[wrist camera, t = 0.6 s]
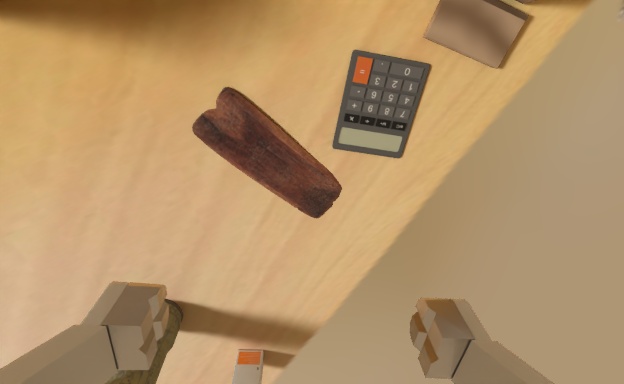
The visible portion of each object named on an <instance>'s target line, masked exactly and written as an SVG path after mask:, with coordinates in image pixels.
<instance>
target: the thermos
mask: <svg viewBox="0 0 624 384" xmlns="http://www.w3.org/2000/svg"><path fill="white" fill-rule="evenodd" d="M164 301H165V302H166V303H167V304H168V306H169V318H168V323H167V327H166V330H165V332H164V335H163V337H161V338H160V339H159V340H157V341H156V342H157V352H156V354H155V356H154V359H153V361H152V363H151V366H150V368H149V370H117V373H116V374H115V375H114V376H113V377H111V378H110V379H109V380H108V381H107V382H106V383H105V384H156V381H157V378H158V376H159V373H160V370H161V368H162V365H163V363H164V360H165V357H166V355H167V353H168V352H169V350H170V349H171V348H172V347H173V344H174V342H175V339H176V336H177V334H178V331H179V327H180V322H181V321H182V317H183V313H182V310H181V308H180V307H179V306H178V305H177V304H175V303H174V302H172V301H170V300H167V299H165V300H164Z"/></svg>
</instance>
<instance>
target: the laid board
mask: <svg viewBox="0 0 624 384" xmlns="http://www.w3.org/2000/svg"><path fill="white" fill-rule="evenodd" d="M528 16H529V15H527V14H525V13H523V12H521V11H519V10H517V9H515V8H513V7H511V6H509V5H507V4H505V3H503V2H501V1H498V0H440V2H439V4H438V6H437V8H436V10H435V13H434V15H433V17H432V19H431V21H430V23H429V25H428V28H427V30H426V32H425V34H424V36H423V37H424V38H426V39H428V40H430V41H433V42H435V43H437V44H440V45H442V46H444V47H447V48H449V49H451V50H453V51H456V52H458V53H460V54H463V55H465V56H467V57H470V58H472V59H474V60H476V61H479V62H481V63H483V64H486V65H488V66H490V67H493V68H498V67H499V65H500V63H501V61H502V60H503V58H504V56H505V55H506V53H507V51H508V49H509V48H510V46H511V44H512V43H513V41H514V39H515V37H516V36H517V34H518V32H519V31H520V29H521V27H522V25H523V24H524V22H525V21H526V19H527V18H528Z"/></svg>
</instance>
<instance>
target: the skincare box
mask: <svg viewBox="0 0 624 384" xmlns="http://www.w3.org/2000/svg"><path fill="white" fill-rule="evenodd" d="M262 371H263V350H238V353H237V359H236V364H235V369H234V375H233V380H232V384H261V381H262Z"/></svg>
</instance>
